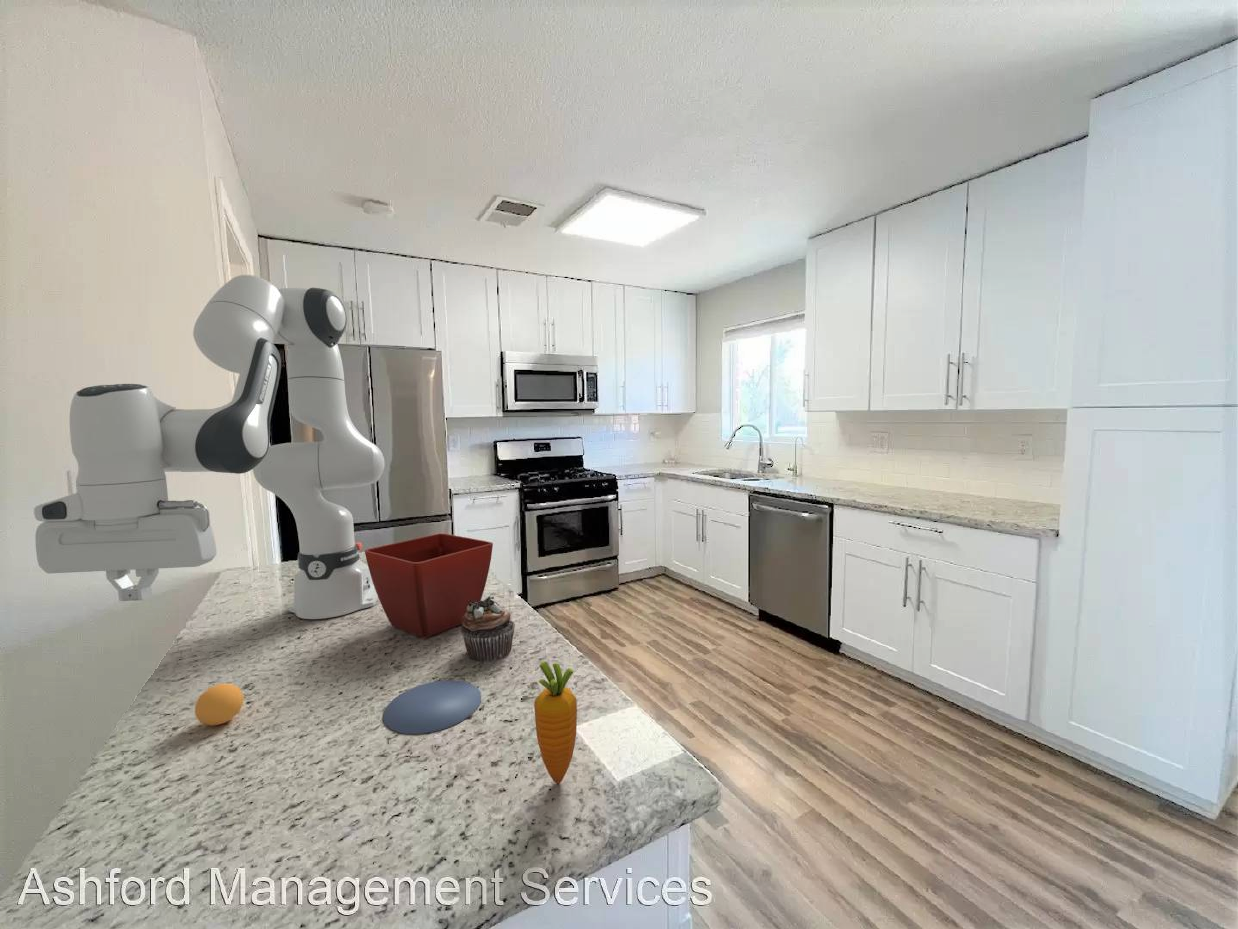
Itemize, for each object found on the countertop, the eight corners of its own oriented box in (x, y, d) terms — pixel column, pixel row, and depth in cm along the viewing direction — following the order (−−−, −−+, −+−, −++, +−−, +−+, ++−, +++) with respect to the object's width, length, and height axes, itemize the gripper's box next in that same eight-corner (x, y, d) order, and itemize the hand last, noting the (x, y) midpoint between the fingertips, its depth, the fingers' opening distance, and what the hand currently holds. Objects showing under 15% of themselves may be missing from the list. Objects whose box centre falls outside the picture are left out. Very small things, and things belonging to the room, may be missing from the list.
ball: (213, 712, 75) (210, 677, 75) (253, 709, 76) (250, 675, 76) (186, 735, 70) (183, 698, 70) (229, 732, 71) (225, 695, 70)
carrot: (587, 781, 60) (584, 661, 58) (555, 805, 56) (552, 678, 55) (559, 762, 63) (556, 648, 62) (528, 784, 60) (524, 663, 58)
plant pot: (444, 600, 121) (441, 531, 120) (498, 616, 110) (495, 542, 109) (367, 627, 106) (362, 549, 104) (420, 650, 95) (415, 563, 93)
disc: (400, 684, 83) (400, 683, 82) (487, 678, 84) (487, 677, 84) (368, 738, 69) (368, 737, 69) (472, 729, 70) (472, 728, 70)
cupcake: (480, 670, 87) (478, 614, 86) (453, 652, 94) (450, 600, 93) (526, 651, 94) (524, 599, 93) (497, 636, 101) (495, 587, 100)
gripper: (222, 496, 73) (230, 588, 74) (66, 501, 71) (77, 595, 72) (190, 503, 67) (200, 603, 68) (18, 508, 65) (31, 612, 66)
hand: (135, 599), depth 70 cm, fingers closed
